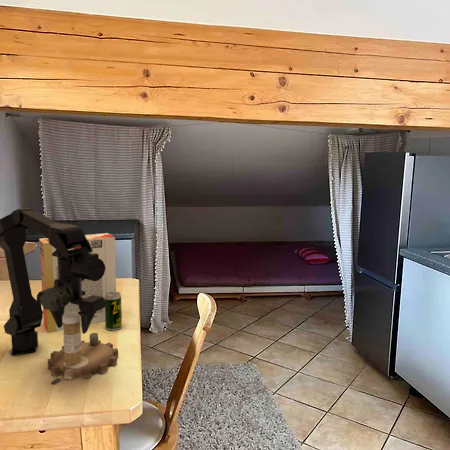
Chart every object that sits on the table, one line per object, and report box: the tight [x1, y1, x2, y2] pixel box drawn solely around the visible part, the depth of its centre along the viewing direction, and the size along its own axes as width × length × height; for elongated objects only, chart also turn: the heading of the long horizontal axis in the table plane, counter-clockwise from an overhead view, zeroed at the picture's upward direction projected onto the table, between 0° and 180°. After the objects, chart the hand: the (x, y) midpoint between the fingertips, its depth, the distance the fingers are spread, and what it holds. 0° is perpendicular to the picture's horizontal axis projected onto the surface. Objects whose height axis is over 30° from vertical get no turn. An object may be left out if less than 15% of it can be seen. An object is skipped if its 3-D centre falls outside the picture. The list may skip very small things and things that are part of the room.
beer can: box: [104, 291, 123, 332], centre depth 140 cm, size 5×5×12 cm
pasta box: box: [38, 232, 117, 334], centre depth 142 cm, size 23×8×30 cm, turn 122°
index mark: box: [50, 377, 62, 386], centre depth 107 cm, size 2×1×1 cm, turn 161°
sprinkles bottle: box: [62, 312, 82, 364], centre depth 112 cm, size 5×5×13 cm
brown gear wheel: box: [47, 332, 119, 380], centre depth 117 cm, size 19×19×5 cm
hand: (72, 330), depth 111 cm, fingers open, 8 cm apart
